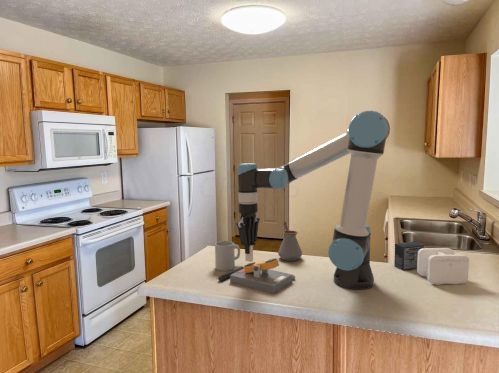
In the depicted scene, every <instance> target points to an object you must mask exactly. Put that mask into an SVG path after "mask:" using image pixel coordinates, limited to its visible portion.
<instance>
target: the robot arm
mask: <svg viewBox="0 0 499 373" xmlns="http://www.w3.org/2000/svg"><path fill="white" fill-rule="evenodd" d="M390 130H391V126H390V123H389V121H388V119H387V118H386V117H385V116H384V115H383V114H381V112H378V111H375V110H364V111H361V112H359V113H357V114H356V115H354V117H352V119H351V120H350V123H349V125H348V128H347V130H346V132H345V133H342V134H341V135H340V136H338V137H335V138H333V139H332V140H329V141H328V142H326V143H324V144H322V145H319V146H318V147H316V148H313V149H312V150H310V151H308V152H306V153H304V154H303V155H300V156H299V157H296V158H295V159H293V160H291V161H289V162H287V163H285V164H283V165H281V166H278V167H272V168H258V164H256V163H254V162H253V163H251V162H248V163H246V162H245V163H243V162H242V163H240V164H238V165H237V175H236V176H237V184H238V185H237V186H238V187H237V188H238V189H237V190H238V192H237V194H238V195H237V196H238V202H239V203H238V213H239V214H240V217H239V218H240V221H238V222H235V223H236V227H237V229H238V235H239V240H240V244H241V246H244V253H245V254H244V255H245V259H244V260H245V262H248V263H249V262H250V263H253V261H254V245H256V243H257V241H258V231H259V223H260V220H261V218H260V217H258V216H257V213H258V212H259V210H258V209H259V208H258V207H259V204H258V203H257V202H258V200H259V199H258V198H259V197H258V189H274V190H278V189H283V190H284V189H285V188H287V185H289V184H291V183H292V182H293V181H296V180H298V179H299V178H302V177H304V176H306V175H308V174H310V173H312V172H314V171H317V170H319V169H320V168H322V167H325V166H327V165H329V164H330V163H333V162H334V161H337V160H339V159H341V158H343V157H345V156H347V155H349V154H350V160H349V161H350V162H349V166H348V167H349V168H348V172H347V178H346V183H345V184H346V185H345V189H344V190H345V191H344V196H343V202H342V203H343V204H342V207H341V214H340V219H339V223H337V224H336V225H335V226H334V228H333V233H332V234H333V235H332V240H331V241H332V242H331V243H330V244H329V247H328V251H327V253H328V254H327V255H328V258H329V261H330V262H331V263H332V264H333V265H334V266H335V267H336V268H335V271H334V274H333V282H334V284H336V285H337V286H339V287H342V288H345V289H351V290H366V289H371V288H372V287H374V285H375V277H374V274H373V271H372V267H371V262H370V260H371V258H370V257H371V236H372V232H371V227H370V226H369V225H367V220H368V215H369V214H368V213H369V209H370V204H371V203H370V202H371V197H372V193H373V192H372V191H373V186H374V182H375V181H374V180H375V176H376V170H377V165H378V159H379V158H381V157H382V156H384V152H385V146H386V143H387V139H388V137H389V135H390Z"/></svg>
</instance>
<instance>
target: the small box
mask: <svg viewBox="0 0 499 373" xmlns="http://www.w3.org/2000/svg"><path fill="white" fill-rule="evenodd" d="M422 248H425V245H424V244H423V243H419V242H416V241H409V242H398V243H397V242H396V243H394V264H393V265H394V267H395V268H397V269H399V270H401V271H402V272H403V271H412V270H417V260H418V251H419V250H420V249H422Z"/></svg>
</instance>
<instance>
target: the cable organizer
mask: <svg viewBox="0 0 499 373" xmlns="http://www.w3.org/2000/svg"><path fill="white" fill-rule="evenodd" d="M469 269H470V258H469V257H468V256H467V255H465V254H460V253H459V254H455V250H453V249H452V248H449V247H437V248H436V247H434V248H433V247H432V248H431V247H428V248H426V247H424V248H422V249H420V250H419V251H418V260H417V269H416V272H417V274H419V276H421V277H424V278H427V280H428V282H430V283H431V284H433V285H440V286H441V285H446V284H447V285H448V284H449V285H450V284H451V285H460V284H465V283H466V282H468V280H469V271H470V270H469Z"/></svg>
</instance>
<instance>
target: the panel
mask: <svg viewBox="0 0 499 373" xmlns="http://www.w3.org/2000/svg"><path fill="white" fill-rule="evenodd" d="M264 261H265V260H262V261H261V262H264ZM292 275H293V274H292V273H288V272H282V271H279V270H274V269H267V270H261V271H260V266H259V265H254V272H249V273H245V270H244V269H242V270H240V271H238V272H235V273H233V274H231V275H230V277H229V280H230V281H229V282H230V283H231V284H236V285H239V286H242V287H245V288H246V287H247V288H249V289H254V290H258V291H261V292H265V293H268V294H272V295H274V294H276V293H277V292H279V291H280V290H282V289H284V288H285V287H288V285H290V284H292V283H293V279H292Z"/></svg>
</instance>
